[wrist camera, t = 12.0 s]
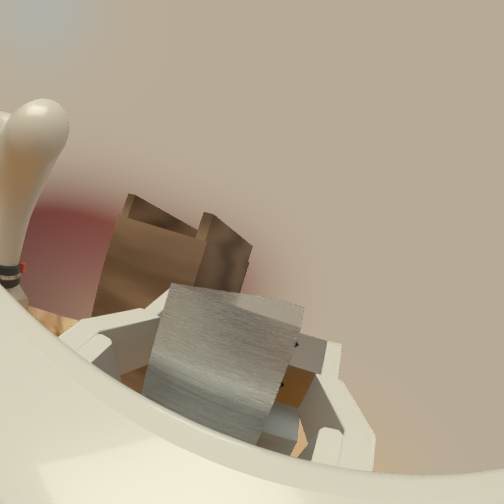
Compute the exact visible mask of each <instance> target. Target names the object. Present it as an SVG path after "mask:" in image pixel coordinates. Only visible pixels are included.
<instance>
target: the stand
mask: <svg viewBox="0 0 504 504" xmlns="http://www.w3.org/2000/svg"><path fill="white" fill-rule="evenodd" d="M251 250H252V245H250V244H249V243H248V242H247V241H246V240H244V239H243V238H242V237H241V236H239V235H238V234H237V233H236V232H235V231H233V230H232V229H231V228H230V227H228V226H227V225H226V224H225V223H223V222H222V221H221V220H220V219H219V218H217V217H216V216H215V215H213V214H210V213H205V212H204V213H203V216H202V219H201V222H200V225H199V228H198V230H196V229H195V228H193V227H191V226H189V225H187V224H186V223H184V222H182V221H180V220H179V219H177V218H175V217H173V216H171V215H170V214H168V213H166V212H164V211H162V210H161V209H159V208H157V207H155V206H154V205H152V204H150V203H148V202H147V201H145V200H143V199H141V198H140V197H138V196H136V195H132V194H128V197H127V199H126V202H125V205H124V208H123V210H122V213H121V216H120V215H119V217H118V220H117V223H116V226H115V229H114V232H113V235H112V238H111V242H110V245H109V248H108V252H107V255H106V259H105V262H104V266H103V270H102V273H101V277H100V281H99V285H98V289H97V294H96V298H95V302H94V307H93V312H92V317H97V316H102V315H108V314H113V313H118V312H123V311H128V310H133V309H138V308H142V309H145V308H146V307H148V306H149V305H150V304H151V303H152V302H154V301H155V300H156V299H157V298H158V297H160V296H161V295H162V294H163V293H164V292H166V291H167V290H168V289H169V288H170V285H171V283H176V284H182V285H188V286H194V287H201V288H207V289H214V290H220V291H227V292H234V293H240V291H241V287H242V284H243V281H244V278H245V275H246V271H247V268H248V265H249V262H248V260H249V256H250V253H251ZM92 317H91V318H92ZM147 367H148V365H145V366H143V367H140V368H138V369H135V370H132V371H130V372H127V373H125V374H122V375H120V377H121V381H122V384H124V385H126V386H127V387H129V388H131V389H132V390H134V391H136V392H137V393H139V394H141V392H142V388H143V384H144V380H145V375H146V371H147ZM298 427H299V414H298V411H297V408H294V407H291V406H288V405H285V404H282V403H279V402H276V401H274V403H273V405H272V408H271V410H270V413H269V415H268V418H267V420H266V422H265V425H264V427H263V430H262V432H261V434H260V437H259V439H258V441H257V443H256V446H258V447H261V448H264V449H268V450H271V451H274V452H278V453H281V454H285V455H288V456H290V454H291V452H292V450H293V449H294V447H295V444H296V442H297V437H298Z"/></svg>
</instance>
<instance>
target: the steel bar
mask: <svg viewBox="0 0 504 504" xmlns="http://www.w3.org/2000/svg"><path fill="white" fill-rule="evenodd" d="M303 312H304V307H303V306H299V305H296V304H293V303H290V302H286V301H283V300H280V299H277V298H272V297H264V296H256V295H249V294H241V293H234V292H227V291H220V290H214V289H207V288H201V287H194V286H188V285H182V284H176V283H171V285H170V289H169V292H168V295H167V299H166V302H165V305H164V309H163V312H162V315H161V319H160V322H159V326H158V329H157V333H156V337H155V340H154V344H153V348H152V352H151V356H150V359H149V363H148V367H147V371H146V375H145V380H144V384H143V388H142V392H141V395H143V396H144V397H146V398H148V399H150V400H152V401H154V402H155V403H157V404H159V405H161V406H163V407H165V408H167V409H169V410H171V411H173V412H175V413H177V414H179V415H181V416H183V417H185V418H187V419H189V420H192V421H194V422H196V423H198V424H201V425H203V426H205V427H207V428H210V429H212V430H215V431H217V432H220V433H222V434H225V435H227V436H230V437H232V438H235V439H238V440H241V441H243V442H246V443H249V444H252V445H255V446H256V443H257V441H258V439H259V437H260V434H261V432H262V430H263V427H264V425H265V422H266V420H267V418H268V415H269V413H270V410H271V408H272V405H273V403H274V400H275V398H276V395H277V393H278V390H279V387H280V385H281V382H282V379H283V377H284V374H285V371H286V369H287V366H288V363H289V360H290V358H291V355H292V352H293V349H294V346H295V343H296V341H297V338H298V335H299V332H300V329H301V324H302V318H303Z"/></svg>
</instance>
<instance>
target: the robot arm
mask: <svg viewBox="0 0 504 504" xmlns="http://www.w3.org/2000/svg"><path fill="white" fill-rule="evenodd" d="M68 133H69V122H68V118H67V115H66V113H65V111H64V109H63V108H62V107H61V106H60V105H59V104H58V103H56V102H55V101H53V100H50V99H37V100H33V101H30V102H28V103H26V104H24V105H22V106H21V107H19V108H18V109H17V110H16V111H15V112H14V113H8V112H4V111H1V110H0V504H504V468H499V469H493V470H486V471H478V472H469V473H457V474H433V475H432V474H431V475H422V474H418V475H417V474H394V473H382V472H373V463H374V452H375V451H374V450H375V439H376V436H375V434H374V432H373V431H372V429H371V427H370V426H369V424H368V422H367V421H366V419H365V417H364V416H363V414H362V412H361V411H360V409H359V407H358V406H357V404H356V402H355V401H354V399H353V397H352V396H351V394H350V392H349V391H348V389H347V388H346V386H345V384H344V383H343V381H342V380H338V376H339V369H340V360H341V352H342V351H341V350H342V345H341V344H339V343H335V342H332V341H328V340H327V341H326V340H322V339H319V338H315V337H312V336H308V335H305V334H301V333H299V335H298V338H297V341H296V343H295V346H294V349H293V352H292V355H291V358H290V360H289V363H288V366H287V369H286V371H285V374H284V377H283V379H282V382H281V385H280V387H279V390H278V393H277V395H276V398H275V400H274V401H276V402H279V403H282V404H285V405H288V406H291V407H294V408H297V411H298V414H299V417H300V420H301V423H302V426H303V429H304V432H305V435H306V438H307V441H308V445H307V447H306V448H305V449H304V450H303V451H302V453H301V454H300V455H299V456H298V458H296V457H292V456H288V455H285V454H281V453H278V452H274V451H271V450H268V449H264V448H261V447H258V446H255V445H252V444H249V443H246V442H243V441H241V440H238V439H235V438H232V437H230V436H227V435H225V434H222V433H220V432H217V431H215V430H212V429H210V428H207V427H205V426H203V425H201V424H198V423H196V422H194V421H192V420H189V419H187V418H185V417H183V416H181V415H179V414H177V413H175V412H173V411H171V410H169V409H167V408H165V407H163V406H161V405H159V404H157V403H155V402H154V401H152V400H150V399H148V398H146V397H144V396H143V395H141V394H139V393H137V392H136V391H134V390H132V389H131V388H129V387H127V386H126V385H124V384H122V381H121V377H120V375H122V374H125V373H127V372H130V371H132V370H135V369H138V368H140V367H143V366H145V365H148V363H149V359H150V356H151V352H152V348H153V344H154V340H155V337H156V333H157V329H158V326H159V322H160V319H161V315H162V312H163V309H164V305H165V302H166V299H167V295H168V292H169V289H170V288H169V289H168V290H167V291H166V292H164V293H163V294H162V295H161V296H160V297H158V298H157V299H156V300H155V301H154V302H152V303H151V304H150V305H149V306H148V307H146V308H145V309H142V308H138V309H133V310H128V311H123V312H118V313H113V314H108V315H102V316H97V317H92V318H87V319H82V320H80V321H79V322H77V323H76V324H75V325H73V326H72V327H71V328H69V329H68V330H67V331H65V332H64V333H63V334H61V335H60V336H59V337H56V336H55V335H54V334H53V333H52V332H50V331H49V330H48V329H47V328H46V327H45V326H43V325H42V324H41V323H40V322H39V321H38V320H37V319H36V318H34V317H33V316H32V315H31V314H30V313H29V312H28V298H27V296H26V295H25V293H24V292H23V290H22V288H21V287H20V285H19V283H20V273H22V274H23V273H24V271H25V269H26V264H25V263H23V262H20V261H19V259H20V254H21V250H22V245H23V242H24V238H25V233H26V229H27V226H28V223H29V219H30V217H31V214H32V212H33V209H34V207H35V205H36V203H37V200H38V198H39V196H40V194H41V192H42V190H43V187H44V185H45V183H46V181H47V179H48V177H49V175H50V172H51V170H52V168H53V166H54V164H55V162H56V160H57V158H58V156H59V154H60V153H61V151H62V150H63V148H64V146H65V144H66V141H67V138H68Z"/></svg>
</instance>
